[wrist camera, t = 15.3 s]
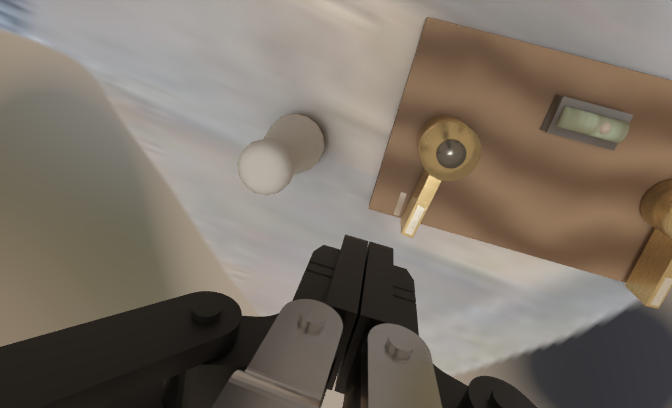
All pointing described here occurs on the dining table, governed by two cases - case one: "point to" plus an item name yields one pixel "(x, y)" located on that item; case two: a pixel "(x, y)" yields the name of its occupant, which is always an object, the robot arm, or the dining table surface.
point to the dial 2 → (655, 248)
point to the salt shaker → (281, 154)
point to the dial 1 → (440, 163)
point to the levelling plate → (534, 148)
